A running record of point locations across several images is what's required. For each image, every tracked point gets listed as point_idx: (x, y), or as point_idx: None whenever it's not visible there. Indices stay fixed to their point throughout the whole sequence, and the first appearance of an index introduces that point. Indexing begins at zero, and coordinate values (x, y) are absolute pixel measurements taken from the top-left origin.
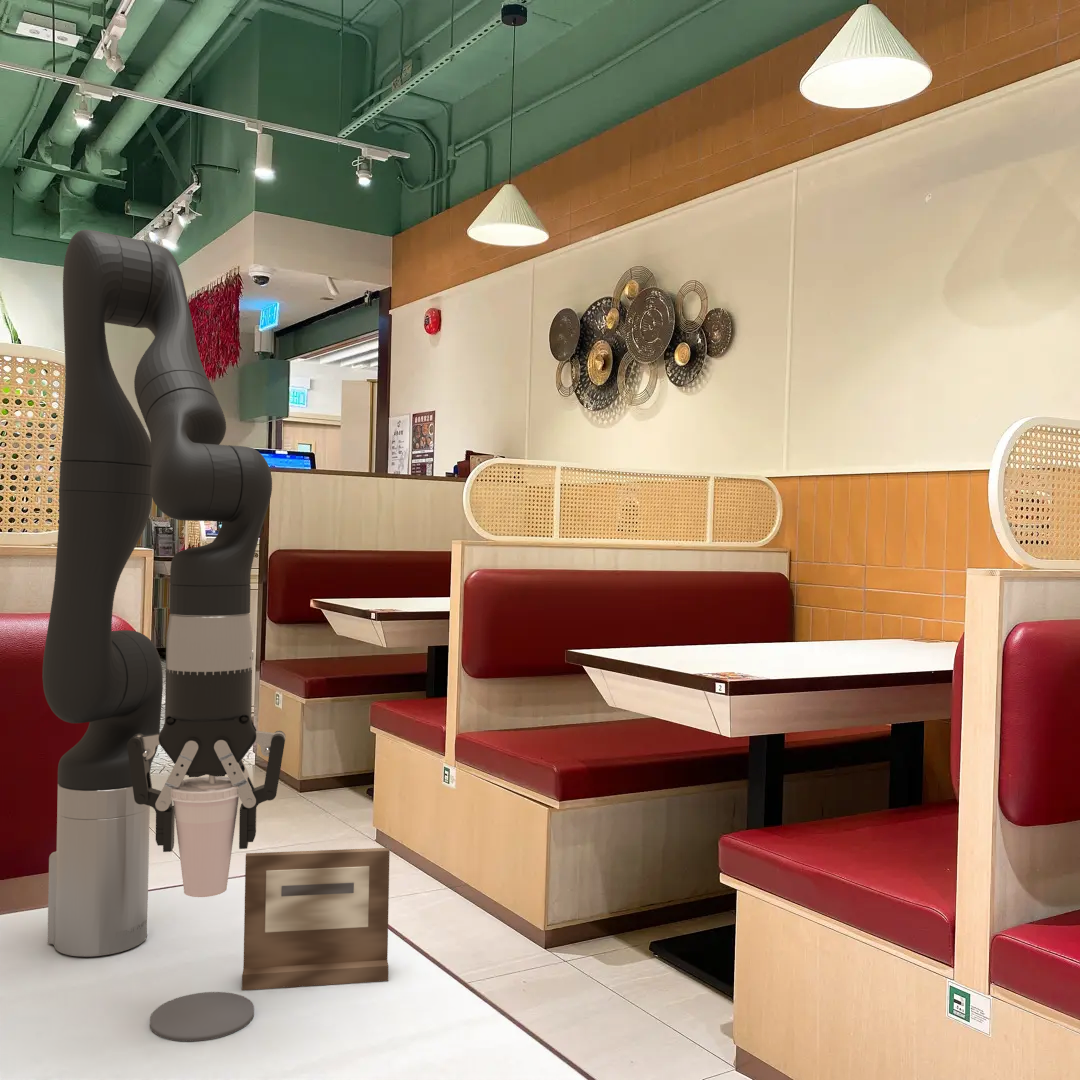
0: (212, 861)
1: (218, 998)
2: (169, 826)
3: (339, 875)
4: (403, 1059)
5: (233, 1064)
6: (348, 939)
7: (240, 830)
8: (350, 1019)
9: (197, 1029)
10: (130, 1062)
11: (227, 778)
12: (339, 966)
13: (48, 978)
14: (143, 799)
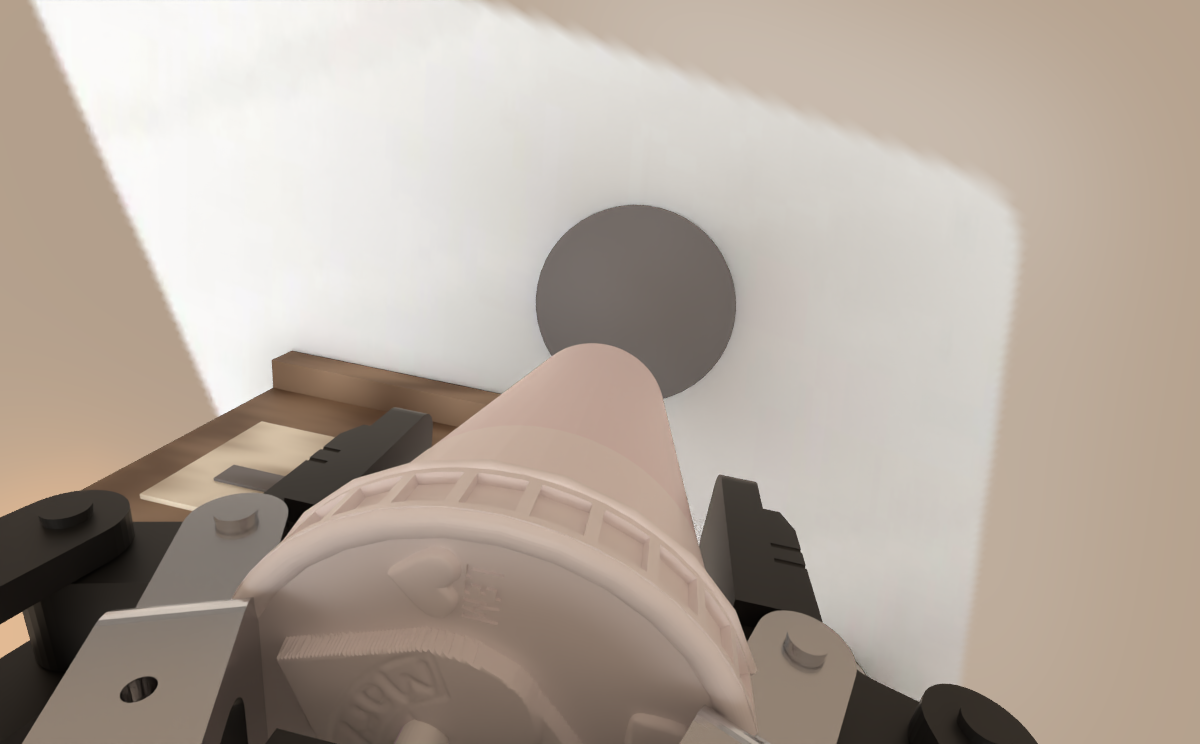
0: (551, 370)
1: None
2: (738, 540)
3: None
4: None
5: (592, 75)
6: (318, 422)
7: (386, 445)
8: (364, 207)
9: (649, 234)
10: (787, 154)
11: None
12: (362, 389)
13: (898, 582)
14: (963, 706)
